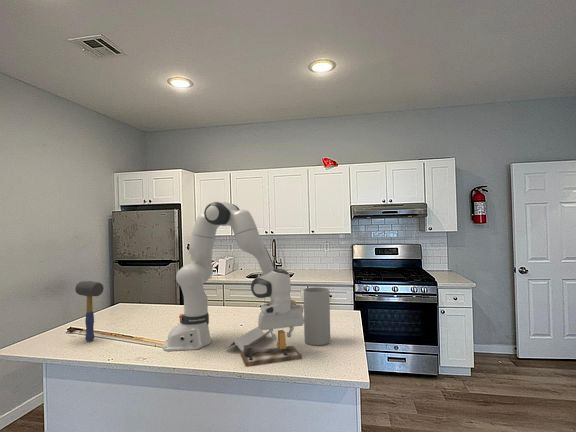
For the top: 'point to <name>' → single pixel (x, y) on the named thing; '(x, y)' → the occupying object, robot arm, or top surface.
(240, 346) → the z bracket
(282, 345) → the sliding jaw
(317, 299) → the cylinder vase
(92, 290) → the rubber mallet
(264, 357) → the gauge board
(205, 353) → the top surface
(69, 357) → the top surface
